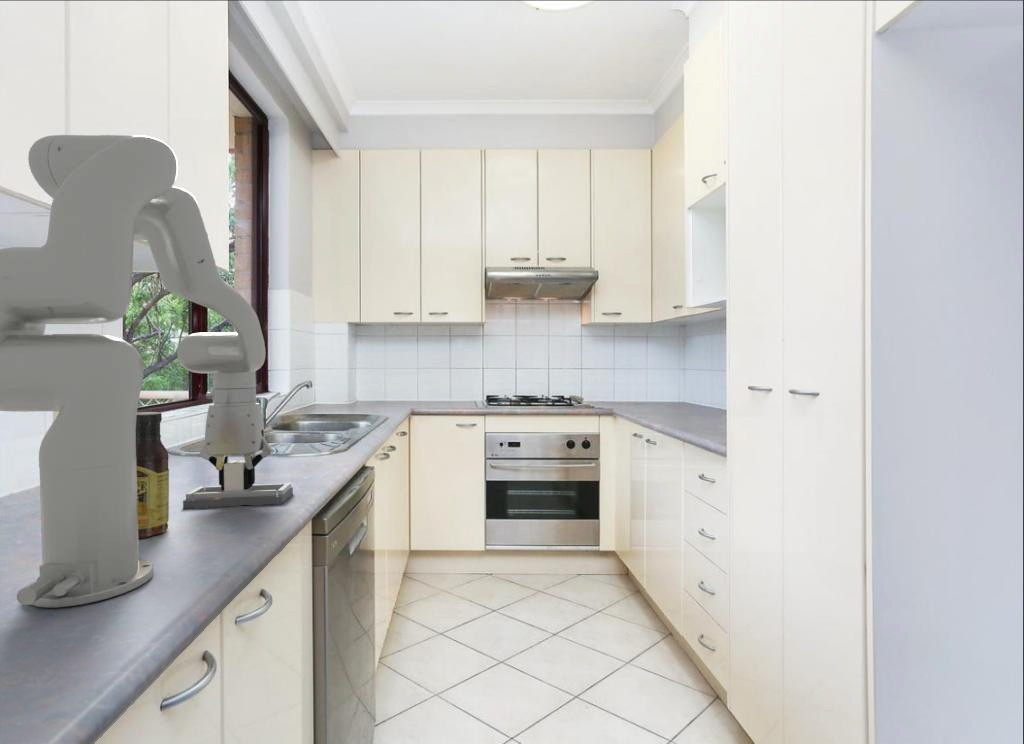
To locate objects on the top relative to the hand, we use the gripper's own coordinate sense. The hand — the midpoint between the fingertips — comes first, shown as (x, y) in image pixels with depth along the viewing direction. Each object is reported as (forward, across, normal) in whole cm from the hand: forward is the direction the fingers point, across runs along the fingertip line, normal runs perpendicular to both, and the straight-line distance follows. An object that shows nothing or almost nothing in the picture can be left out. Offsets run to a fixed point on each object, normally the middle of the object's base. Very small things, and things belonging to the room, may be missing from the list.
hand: (237, 487), depth 108 cm
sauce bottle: (+3, -7, -19) cm, 21 cm away
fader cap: (+1, 0, 0) cm, 1 cm away
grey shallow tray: (+3, +1, 0) cm, 3 cm away
